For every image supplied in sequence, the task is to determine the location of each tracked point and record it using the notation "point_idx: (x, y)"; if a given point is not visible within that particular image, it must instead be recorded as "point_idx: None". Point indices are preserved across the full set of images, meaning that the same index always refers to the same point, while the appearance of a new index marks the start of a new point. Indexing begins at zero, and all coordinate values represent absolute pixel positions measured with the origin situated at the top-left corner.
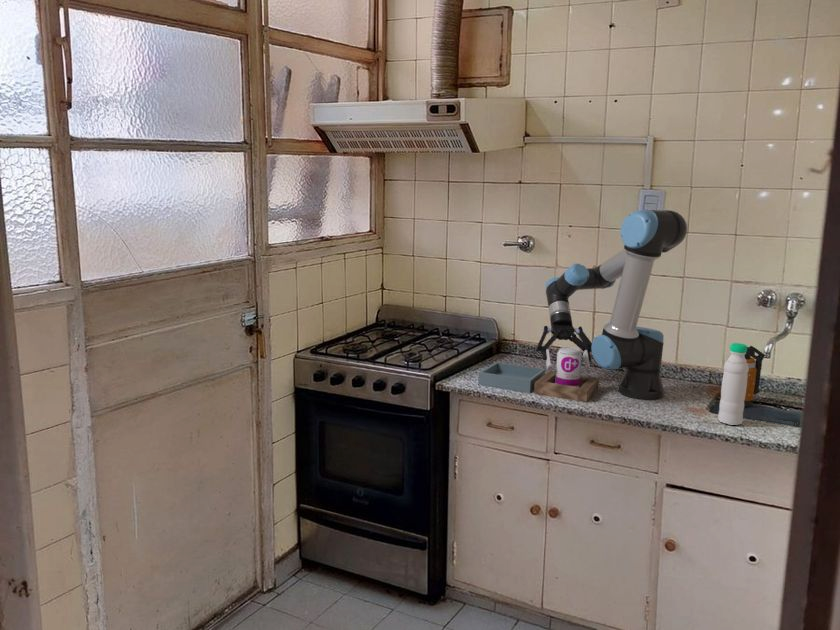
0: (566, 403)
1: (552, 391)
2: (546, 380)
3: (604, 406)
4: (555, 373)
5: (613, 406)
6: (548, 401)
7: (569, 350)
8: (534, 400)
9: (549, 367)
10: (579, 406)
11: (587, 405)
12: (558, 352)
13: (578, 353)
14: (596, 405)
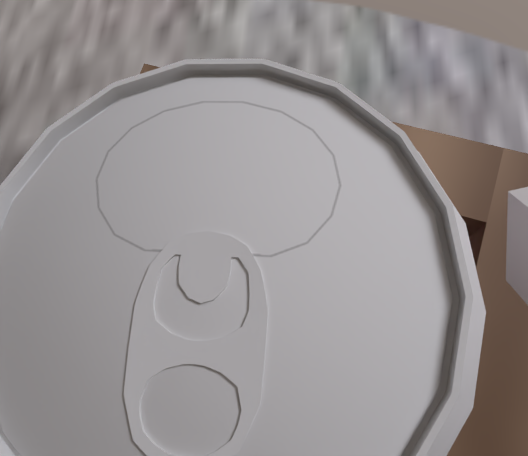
0: (300, 56)
1: None
2: (484, 272)
3: (76, 67)
4: None
5: (23, 82)
6: (418, 62)
7: (215, 234)
8: (516, 56)
9: (514, 233)
10: (224, 24)
11: (174, 56)
12: (465, 242)
13: (52, 150)
14: (119, 71)
